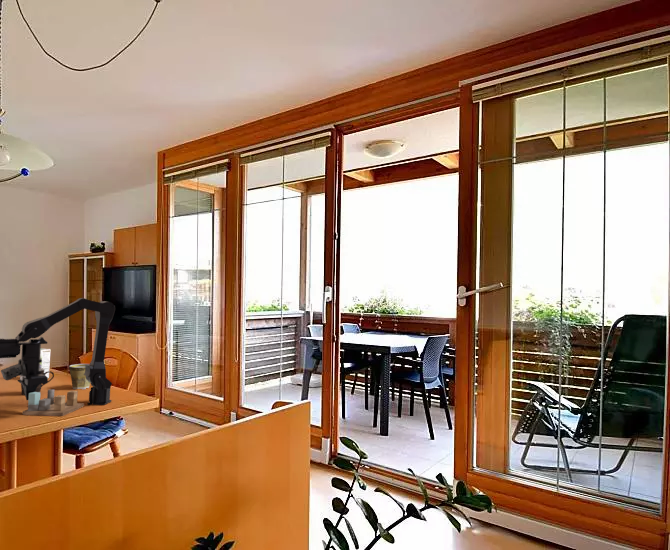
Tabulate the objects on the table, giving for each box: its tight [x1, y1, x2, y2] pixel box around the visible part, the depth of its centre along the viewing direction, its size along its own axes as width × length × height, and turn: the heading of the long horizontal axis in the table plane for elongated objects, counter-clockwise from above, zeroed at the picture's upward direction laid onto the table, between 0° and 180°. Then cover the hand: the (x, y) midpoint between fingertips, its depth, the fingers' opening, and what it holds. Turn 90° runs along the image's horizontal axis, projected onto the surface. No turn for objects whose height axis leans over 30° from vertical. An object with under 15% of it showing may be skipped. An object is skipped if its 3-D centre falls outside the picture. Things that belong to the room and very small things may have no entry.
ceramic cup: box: [68, 363, 91, 390], centre depth 211 cm, size 13×10×10 cm
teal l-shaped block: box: [27, 391, 41, 406], centre depth 170 cm, size 7×2×6 cm, turn 172°
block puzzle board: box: [22, 388, 85, 417], centre depth 171 cm, size 14×14×6 cm
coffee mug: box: [20, 368, 55, 396], centre depth 196 cm, size 12×9×10 cm
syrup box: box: [40, 348, 51, 378], centre depth 227 cm, size 6×6×14 cm
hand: (28, 400), depth 169 cm, fingers closed
